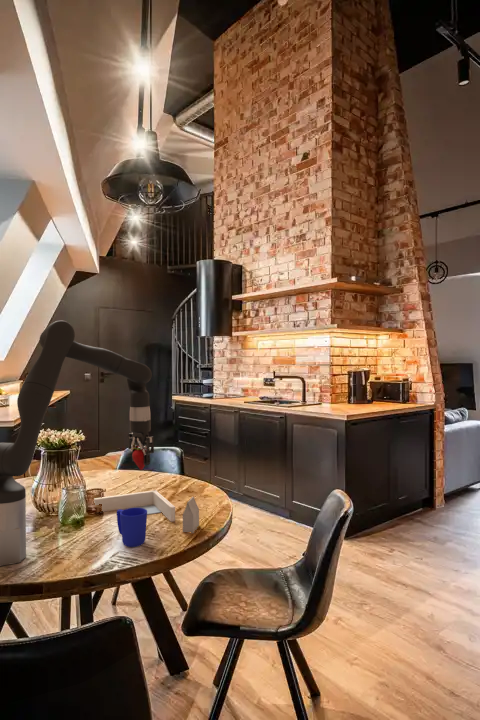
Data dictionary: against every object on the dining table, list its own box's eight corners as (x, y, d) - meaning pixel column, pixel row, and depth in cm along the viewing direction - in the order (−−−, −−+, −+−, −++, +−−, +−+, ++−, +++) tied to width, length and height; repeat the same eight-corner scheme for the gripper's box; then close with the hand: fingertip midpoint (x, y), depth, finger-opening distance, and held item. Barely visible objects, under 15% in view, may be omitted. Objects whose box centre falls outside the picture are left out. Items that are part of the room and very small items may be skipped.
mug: (128, 534, 153) (128, 503, 153) (152, 543, 145) (152, 510, 145) (107, 541, 147) (107, 509, 147) (131, 551, 139) (131, 518, 139)
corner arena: (175, 520, 165) (175, 506, 165) (106, 532, 155) (106, 517, 155) (156, 502, 187) (156, 489, 187) (94, 511, 176) (93, 498, 176)
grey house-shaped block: (199, 526, 160) (198, 496, 160) (193, 533, 154) (193, 502, 154) (188, 525, 161) (188, 496, 161) (182, 532, 154) (182, 502, 154)
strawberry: (133, 473, 168) (133, 445, 168) (131, 468, 175) (131, 441, 175) (150, 471, 170) (149, 444, 170) (147, 466, 177) (147, 440, 177)
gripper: (120, 417, 175) (121, 461, 175) (142, 421, 165) (142, 468, 165) (138, 415, 180) (139, 458, 180) (159, 419, 170) (160, 464, 170)
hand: (140, 463), depth 173 cm, fingers closed on strawberry, 7 cm apart
